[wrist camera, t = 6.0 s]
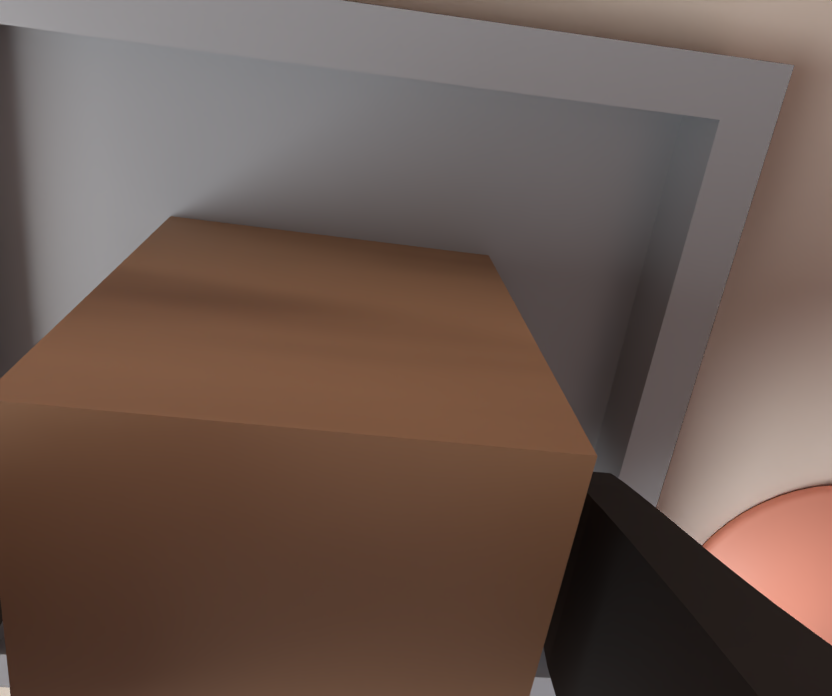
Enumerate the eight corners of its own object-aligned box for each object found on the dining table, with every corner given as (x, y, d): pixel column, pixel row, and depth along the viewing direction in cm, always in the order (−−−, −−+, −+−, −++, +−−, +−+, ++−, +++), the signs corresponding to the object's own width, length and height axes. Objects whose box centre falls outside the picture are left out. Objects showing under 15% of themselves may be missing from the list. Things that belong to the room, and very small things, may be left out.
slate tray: (569, 639, 16) (593, 709, 14) (-3, 611, 15) (-49, 684, 13) (731, 59, 11) (794, 65, 10) (-90, -58, 10) (-181, -76, 8)
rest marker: (877, 702, 17) (885, 713, 17) (639, 692, 17) (643, 703, 16) (985, 495, 15) (997, 504, 15) (713, 474, 14) (720, 483, 14)
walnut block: (440, 509, 14) (490, 833, 8) (167, 488, 13) (23, 821, 8) (488, 255, 12) (597, 455, 6) (170, 216, 11) (-22, 398, 6)
